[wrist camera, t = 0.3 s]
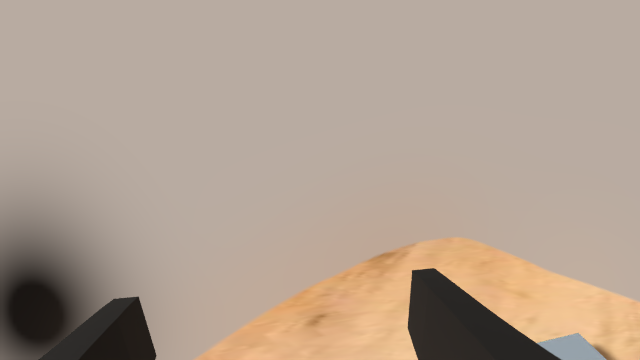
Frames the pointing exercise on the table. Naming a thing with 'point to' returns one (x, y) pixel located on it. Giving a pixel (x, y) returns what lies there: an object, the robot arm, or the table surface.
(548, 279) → the table surface
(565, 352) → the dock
